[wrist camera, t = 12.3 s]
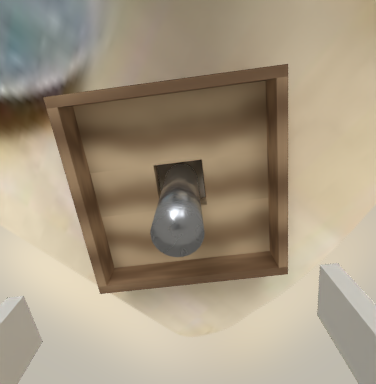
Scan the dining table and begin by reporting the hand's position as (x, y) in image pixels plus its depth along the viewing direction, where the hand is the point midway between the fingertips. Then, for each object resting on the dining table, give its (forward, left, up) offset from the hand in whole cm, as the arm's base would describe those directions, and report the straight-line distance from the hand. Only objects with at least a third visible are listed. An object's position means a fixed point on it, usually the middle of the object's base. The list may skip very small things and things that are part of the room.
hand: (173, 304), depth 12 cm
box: (+1, 0, -22) cm, 22 cm away
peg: (+1, 0, -22) cm, 22 cm away
